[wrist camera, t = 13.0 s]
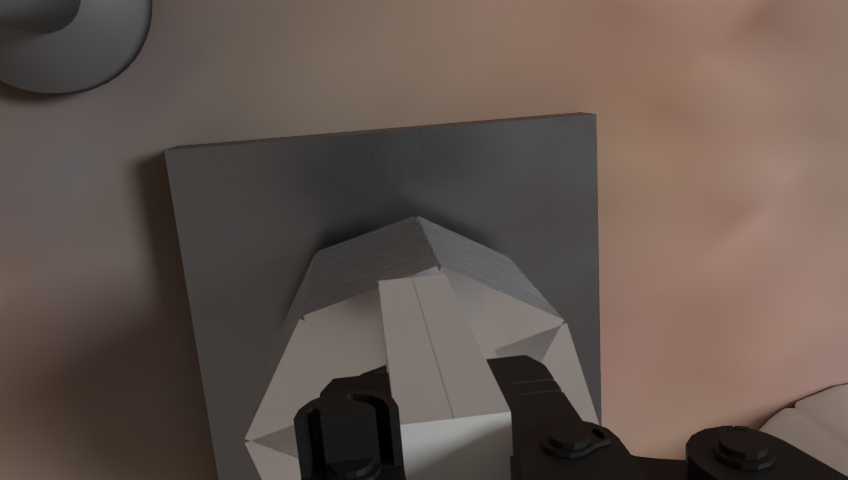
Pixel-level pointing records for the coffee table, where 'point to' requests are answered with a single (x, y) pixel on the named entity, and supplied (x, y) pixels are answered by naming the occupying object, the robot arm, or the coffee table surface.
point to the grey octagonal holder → (363, 330)
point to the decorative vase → (816, 426)
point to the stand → (69, 42)
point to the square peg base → (367, 211)
